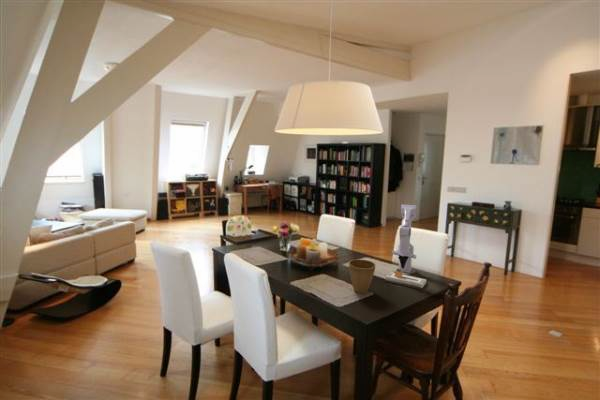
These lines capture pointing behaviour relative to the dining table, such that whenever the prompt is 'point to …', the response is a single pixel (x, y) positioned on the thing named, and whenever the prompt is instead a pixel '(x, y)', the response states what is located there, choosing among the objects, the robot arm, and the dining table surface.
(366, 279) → the plant pot
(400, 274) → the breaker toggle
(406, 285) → the dressed cords
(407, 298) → the dining table surface
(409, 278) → the white slider switch panel
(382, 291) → the dining table surface
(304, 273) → the dining table surface
